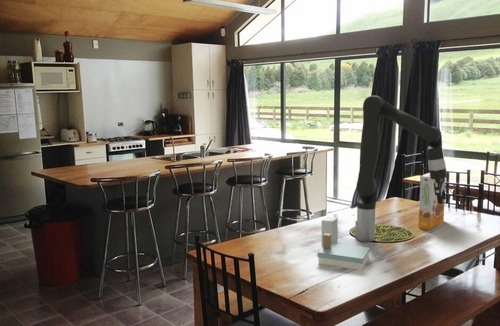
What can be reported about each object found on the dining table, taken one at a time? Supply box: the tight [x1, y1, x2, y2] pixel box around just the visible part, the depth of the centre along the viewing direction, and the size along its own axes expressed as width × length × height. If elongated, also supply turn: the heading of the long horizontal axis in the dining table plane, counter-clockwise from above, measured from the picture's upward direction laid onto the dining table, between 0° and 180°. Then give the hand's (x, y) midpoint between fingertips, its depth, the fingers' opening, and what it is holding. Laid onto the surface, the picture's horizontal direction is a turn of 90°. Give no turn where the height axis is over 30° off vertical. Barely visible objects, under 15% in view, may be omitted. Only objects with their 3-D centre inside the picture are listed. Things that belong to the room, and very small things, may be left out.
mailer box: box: [318, 252, 370, 271], centre depth 209 cm, size 20×14×4 cm
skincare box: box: [321, 216, 339, 248], centre depth 227 cm, size 8×6×15 cm
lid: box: [317, 233, 371, 264], centre depth 208 cm, size 20×16×9 cm
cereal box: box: [418, 172, 447, 231], centre depth 262 cm, size 22×6×30 cm, turn 138°
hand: (442, 201), depth 218 cm, fingers open, 8 cm apart
